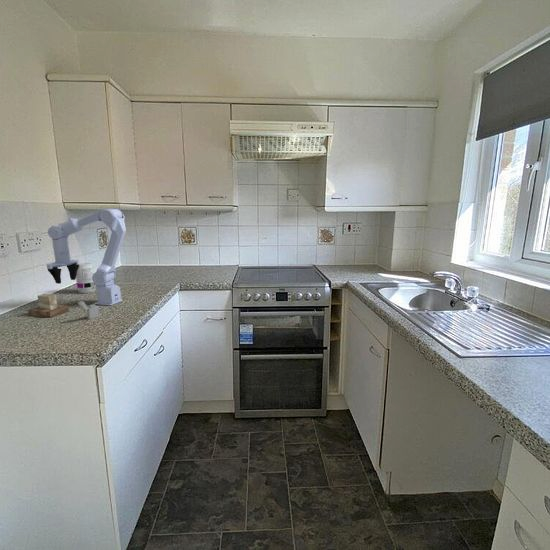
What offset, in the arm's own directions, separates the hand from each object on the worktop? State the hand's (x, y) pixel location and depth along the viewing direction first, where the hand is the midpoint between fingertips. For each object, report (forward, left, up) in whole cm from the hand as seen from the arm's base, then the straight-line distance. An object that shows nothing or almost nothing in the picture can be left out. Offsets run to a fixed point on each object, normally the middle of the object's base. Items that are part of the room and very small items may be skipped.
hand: (66, 281), depth 143 cm
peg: (-5, +14, -10) cm, 18 cm away
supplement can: (+9, -19, -11) cm, 24 cm away
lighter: (-27, +15, -11) cm, 33 cm away
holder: (-5, +14, -10) cm, 18 cm away
